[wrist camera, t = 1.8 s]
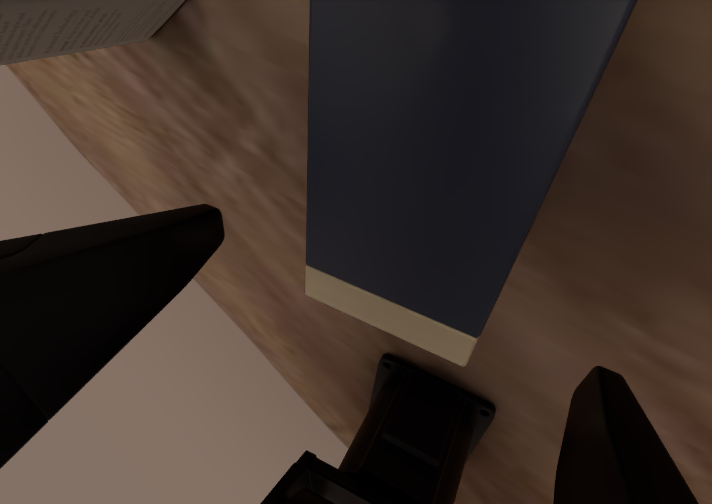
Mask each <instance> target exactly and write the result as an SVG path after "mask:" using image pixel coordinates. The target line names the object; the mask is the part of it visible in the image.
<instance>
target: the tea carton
mask: <svg viewBox="0 0 712 504" xmlns="http://www.w3.org/2000/svg"><path fill="white" fill-rule="evenodd" d="M636 2H637V0H310V25H309V92H308V158H307V225H306V264H307V266H306V280H305V294H306V295H307V296H309V297H311V298H314V299H316V300H318V301H320V302H322V303H324V304H327V305H329V306H331V307H333V308H335V309H337V310H340V311H342V312H344V313H346V314H348V315H351V316H353V317H355V318H357V319H359V320H361V321H364V322H366V323H368V324H370V325H372V326H374V327H377V328H379V329H381V330H383V331H385V332H388V333H390V334H392V335H394V336H396V337H398V338H401V339H403V340H405V341H407V342H409V343H411V344H414V345H416V346H418V347H420V348H422V349H425V350H427V351H429V352H431V353H433V354H435V355H438V356H440V357H442V358H444V359H446V360H448V361H451V362H453V363H455V364H457V365H459V366H462V367H465V366H466V365H467V362H468V360H469V358H470V356H471V354H472V352H473V350H474V348H475V345H476V343H477V341H478V338H479V336H480V335H481V333H482V330H483V328H484V326H485V324H486V322H487V320H488V318H489V315H490V313H491V311H492V309H493V307H494V305H495V303H496V301H497V298H498V296H499V294H500V292H501V290H502V288H503V286H504V284H505V281H506V279H507V277H508V275H509V273H510V271H511V269H512V266H513V264H514V262H515V260H516V258H517V256H518V254H519V252H520V249H521V247H522V245H523V243H524V241H525V239H526V237H527V235H528V232H529V230H530V228H531V226H532V224H533V222H534V220H535V217H536V215H537V213H538V211H539V209H540V207H541V205H542V203H543V200H544V198H545V196H546V194H547V192H548V190H549V188H550V185H551V183H552V181H553V179H554V177H555V175H556V173H557V171H558V168H559V166H560V164H561V162H562V160H563V158H564V156H565V154H566V151H567V149H568V147H569V145H570V143H571V141H572V139H573V136H574V134H575V132H576V130H577V128H578V126H579V124H580V122H581V119H582V117H583V115H584V113H585V111H586V109H587V107H588V105H589V102H590V100H591V98H592V96H593V94H594V92H595V90H596V87H597V85H598V83H599V81H600V79H601V77H602V75H603V73H604V70H605V68H606V66H607V64H608V62H609V60H610V58H611V55H612V53H613V51H614V49H615V47H616V45H617V43H618V41H619V38H620V36H621V34H622V32H623V30H624V28H625V26H626V24H627V21H628V19H629V17H630V15H631V13H632V11H633V9H634V6H635V4H636Z"/></svg>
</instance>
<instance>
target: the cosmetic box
mask: <svg viewBox="0 0 712 504" xmlns="http://www.w3.org/2000/svg"><path fill="white" fill-rule="evenodd" d="M184 1H185V0H0V65H6V64H12V63H18V62H24V61H29V60H35V59H42V58H48V57H54V56H60V55H66V54H72V53H77V52H83V51H89V50H95V49H101V48H107V47H113V46H117V45H124V44H130V43H136V42H143V41H146V40H148V38H150V37H151V36H152V35H153V34H154V33H155V32H156V31H157V30H158V29H159V28H160V27H161V26H162V25H163V24H164V23H165V22H166V21H167V20H168V19H169V18H170V17H171V16H172V14H173V13H174V12H175V11H176V10H177V9H178V8H179V7H180V6H181V4H182V3H183V2H184Z"/></svg>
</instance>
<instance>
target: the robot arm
mask: <svg viewBox="0 0 712 504" xmlns="http://www.w3.org/2000/svg"><path fill="white" fill-rule="evenodd" d="M224 236H225V233H224V227H223V220H222V214H221V212H220V210H219V209H218V208H215V207H213V206H210V205H208V204H201V205H196V206H190V207H185V208H179V209H174V210H168V211H163V212H157V213H152V214H146V215H141V216H135V217H130V218H125V219H119V220H114V221H108V222H103V223H97V224H92V225H86V226H81V227H75V228H70V229H65V230H59V231H54V232H48V233H45V234H38V235H31V236H26V237H21V238H14V239H9V240H3V241H0V468H1V467H3V466H4V464H6V463H7V462H8V461H9V460H10V459H11V458H12V457H13V456H14V455H15V454H16V453H17V452H18V451H19V450H20V449H21V448H22V447H23V446H24V445H25V444H26V443H27V442H28V441H29V440H30V439H31V438H32V437H33V436H34V435H35V434H36V433H37V432H38V431H39V430H40V429H41V428H42V427H43V426H44V425H45V424H46V423H47V422H48V420H50V419H51V418H52V417H53V416H54V415H55V414H56V413H57V412H58V411H59V410H60V409H61V408H62V407H63V406H64V405H65V404H66V403H67V402H68V401H69V400H70V399H71V398H73V397H74V396H75V395H76V394H77V392H79V391H80V390H81V389H82V388H83V387H84V386H85V385H86V384H87V383H88V382H89V381H90V380H91V379H92V378H93V377H94V376H95V375H96V374H97V373H98V372H99V371H100V370H101V369H102V368H103V367H104V366H105V365H106V364H107V363H108V362H109V361H110V360H111V359H112V358H113V357H114V356H115V355H116V354H117V353H118V352H119V351H120V350H121V349H122V348H123V347H124V346H125V345H127V344H128V343H129V342H130V340H132V339H133V338H134V337H135V336H136V335H137V334H138V333H139V332H140V331H141V330H142V329H143V328H144V327H145V326H146V325H147V324H148V323H149V322H150V321H151V320H152V319H153V318H154V317H155V316H156V315H157V314H158V313H159V312H160V311H161V310H162V309H163V308H164V307H165V306H166V305H167V304H168V303H169V302H170V301H171V300H172V299H173V298H174V297H175V296H176V295H177V294H179V292H181V291H182V289H183V288H184V287H185V286H186V285H187V284H188V283H189V282H190V281H191V279H193V277H194V276H195V275H196V274H197V273H198V271H199V270H200V269H201V268H202V267H203V265H204V264H205V263H206V262H207V261H208V259H209V258H210V257H211V256H212V255H213V253H214V252H215V251H216V250H217V249H218V247H219V246H220V245H221V244H222V242H223V240H224ZM495 411H496V408H495V406H494V405H493V404H492V403H491V402H489V401H487V400H485V399H483V398H481V397H478V396H476V395H474V394H472V393H470V392H468V391H466V390H464V389H462V388H460V387H457V386H455V385H453V384H451V383H449V382H447V381H445V380H443V379H441V378H439V377H437V376H434V375H432V374H430V373H428V372H426V371H424V370H422V369H420V368H418V367H416V366H413V365H411V364H409V363H407V362H405V361H403V360H401V359H399V358H397V357H395V356H393V355H390V354H384V355H383V356H382V358H381V360H380V361H379V365H378V370H377V374H376V379H375V383H374V388H373V392H372V397H371V401H370V406H369V410H368V413H367V415H366V417H365V419H364V421H363V423H362V425H361V426H360V428H359V430H358V432H357V434H356V436H355V438H354V440H353V442H352V444H351V445H350V447H349V449H348V451H347V453H346V455H345V457H344V459H343V461H342V463H341V465H340V467H339V469H336V468H335V467H333V466H331V465H329V464H327V463H326V462H324V461H322V460H320V459H318V458H317V457H316V455H315V454H313V453H311V452H309V451H305V452H304V454H303V455H302V456H301V457H300V458H299V460H298V461H297V462H296V463H294V464H293V465H292V466H291V467H290V469H289V470H288V471H287V472H286V474H285V475H284V476H283V477H282V478H281V480H280V481H279V482H278V483H277V484H276V486H275V487H274V488H273V489H272V490H271V492H270V493H269V494H268V495H267V496H266V498H265V499H264V500H263V501H262V502H261V504H454V502H455V498H456V494H457V491H458V487H459V483H460V480H461V476H462V472H463V469H464V465H465V462H466V460H467V459H468V457H469V456H470V454H471V453H472V451H473V450H474V448H475V446H476V445H477V443H478V442H479V440H480V439H481V437H482V435H483V434H484V432H485V431H486V429H487V428H488V426H489V425H490V423H491V421H492V420H493V418H494V415H495ZM553 504H699V503H698V502H697V500H696V498H695V497H694V495H693V493H692V492H691V490H690V488H689V487H688V485H687V483H686V481H685V480H684V478H683V476H682V475H681V473H680V471H679V470H678V468H677V466H676V465H675V463H674V461H673V460H672V458H671V456H670V455H669V453H668V451H667V450H666V448H665V446H664V445H663V443H662V441H661V440H660V438H659V436H658V435H657V433H656V431H655V429H654V428H653V426H652V424H651V423H650V421H649V419H648V418H647V416H646V414H645V413H644V411H643V409H642V408H641V406H640V404H639V403H638V401H637V399H636V398H635V396H634V394H633V393H632V391H631V389H630V388H629V386H628V384H627V383H626V381H625V379H624V378H623V377H622V376H621V375H620V374H619V373H616V372H614V371H611V370H609V369H607V368H604V367H602V366H596V367H594V368H593V369H592V370H591V371H590V372H589V373H588V375H587V376H586V377H585V378H584V379H583V381H582V382H581V383H580V384H579V386H578V387H577V388H576V390H575V391H574V393H573V396H572V399H571V404H570V408H569V413H568V418H567V422H566V427H565V432H564V437H563V441H562V446H561V451H560V455H559V460H558V465H557V471H556V479H555V490H554V502H553Z"/></svg>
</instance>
